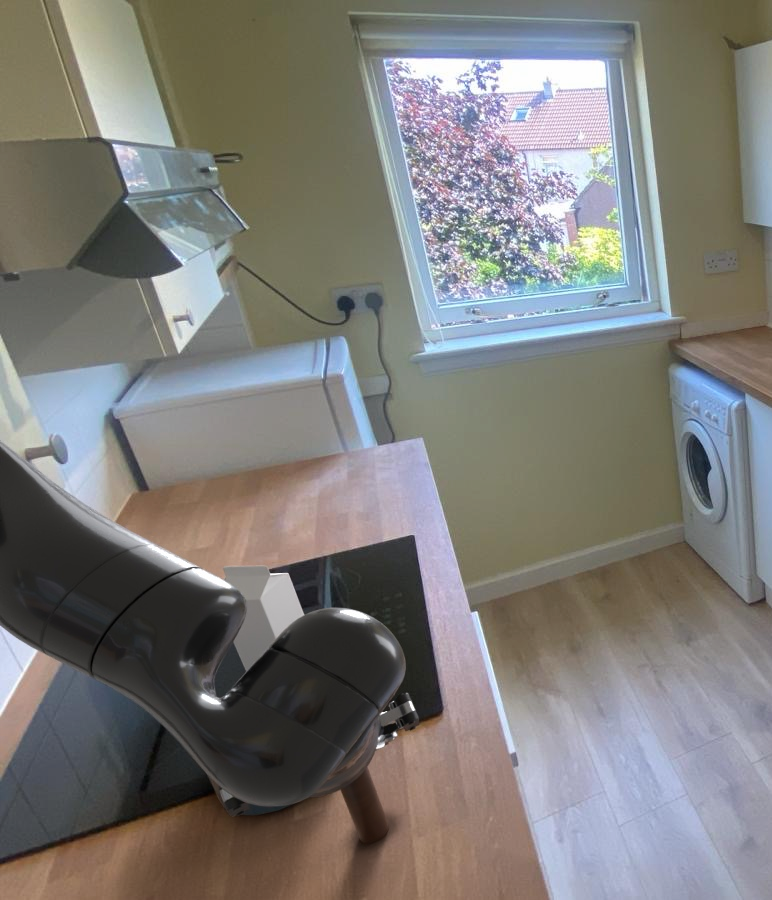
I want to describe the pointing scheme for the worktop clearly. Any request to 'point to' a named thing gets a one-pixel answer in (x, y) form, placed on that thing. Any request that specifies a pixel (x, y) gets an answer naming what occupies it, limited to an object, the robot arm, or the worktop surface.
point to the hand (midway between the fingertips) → (328, 760)
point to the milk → (262, 608)
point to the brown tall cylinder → (365, 808)
